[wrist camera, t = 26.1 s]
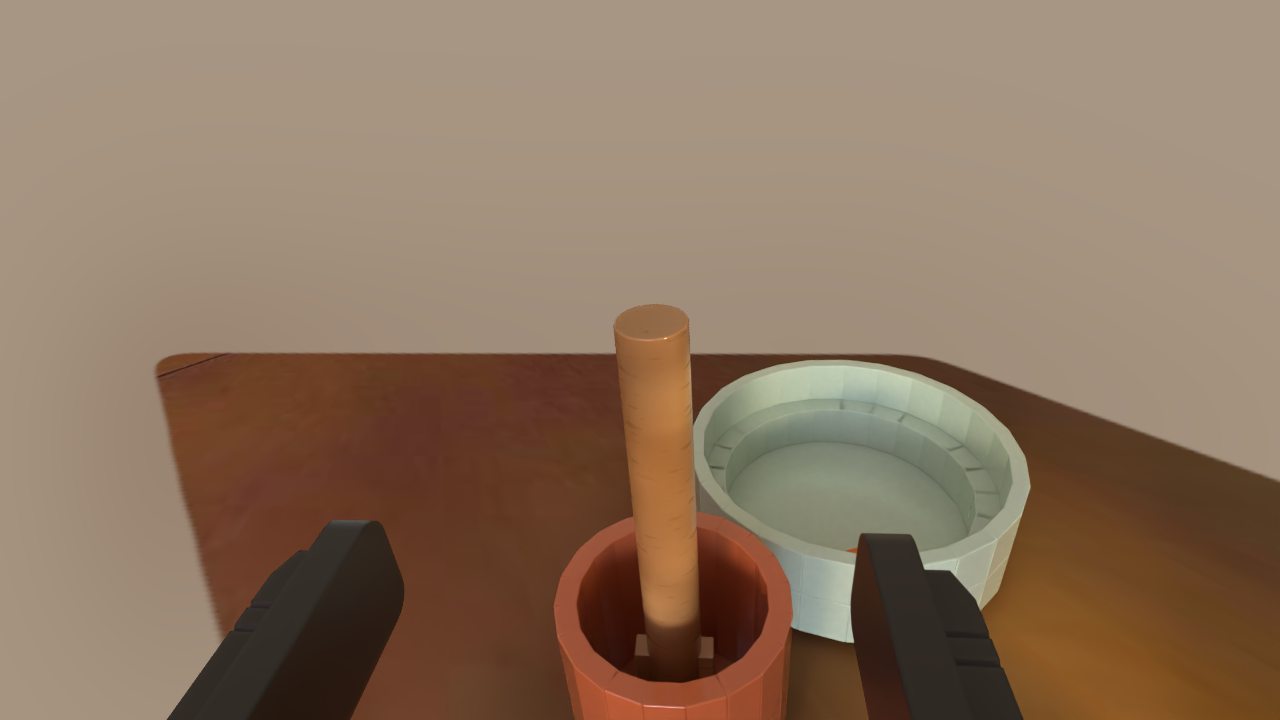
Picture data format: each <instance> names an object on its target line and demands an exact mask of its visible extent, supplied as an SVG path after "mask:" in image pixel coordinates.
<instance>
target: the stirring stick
mask: <svg viewBox="0 0 1280 720" xmlns="http://www.w3.org/2000/svg"><path fill="white" fill-rule="evenodd" d="M613 327H614V336H615V346H616V355H617V365H618V374H619V383H620V393H621V402H622V412H623V421H624V431H625V440H626V450H627V459H628V469H629V478H630V488H631V497H632V507H633V516H634V526H635V535H636V545H637V554H638V564H639V573H640V583H641V592H642V601H643V611H644V620H645V630H646V635H644V634H637V636H636V645H635V654H634V656H635V664H636V672H637V677H638V678H640V679H643V680H646V681H653V682H674V683H685V682H689V681H693V680H697V679H701V678H705V677H709V676H712V675H715V668H714V638H713V637H701V623H700V597H699V571H698V545H697V519H696V493H695V467H694V441H693V415H692V389H691V362H690V338H689V337H690V336H689V319H688V317H687V315H686V314H685V313H684V312H683V311H682V310H680V309H678V308H675V307H672V306H667V305H658V304H656V305H655V304H653V305H644V306H638V307H634V308H631V309H629V310H627V311H624V312H623V313H621V314H620V315H619V316H618V317H617V318H616V319H615V322H614V326H613Z"/></svg>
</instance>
